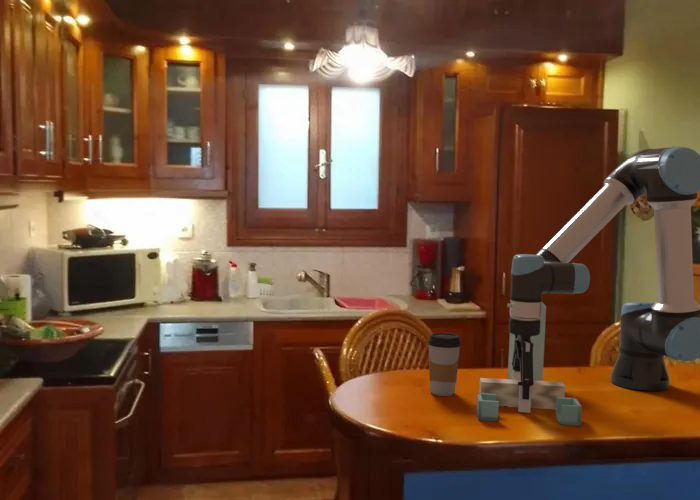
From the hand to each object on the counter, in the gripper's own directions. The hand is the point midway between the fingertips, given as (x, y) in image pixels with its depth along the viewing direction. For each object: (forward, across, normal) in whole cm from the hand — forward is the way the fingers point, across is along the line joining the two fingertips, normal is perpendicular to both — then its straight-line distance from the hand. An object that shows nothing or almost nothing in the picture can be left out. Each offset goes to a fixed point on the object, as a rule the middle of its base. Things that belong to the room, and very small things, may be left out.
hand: (520, 404), depth 178 cm
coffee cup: (0, -7, -19) cm, 20 cm away
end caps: (0, +11, 0) cm, 11 cm away
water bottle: (0, -22, +4) cm, 22 cm away
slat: (0, 0, 0) cm, 0 cm away
